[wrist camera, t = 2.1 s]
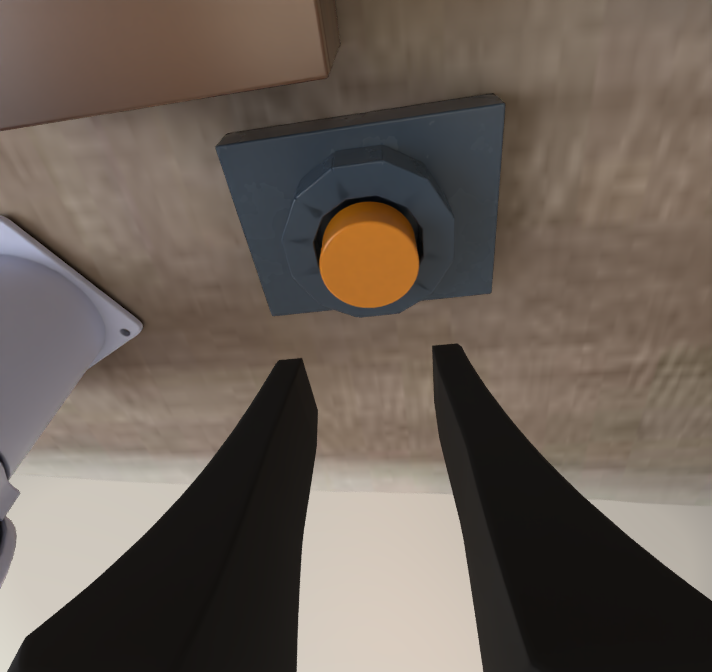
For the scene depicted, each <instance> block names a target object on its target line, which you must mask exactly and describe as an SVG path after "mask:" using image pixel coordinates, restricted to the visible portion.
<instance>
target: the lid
mask: <svg viewBox="0 0 712 672" xmlns="http://www.w3.org/2000/svg"><path fill="white" fill-rule="evenodd" d="M329 73H330V66H329V59H328V53H327V46H326V40H325V34H324V27H323V21H322V14H321V8H320V1H319V0H0V131H4V130H11V129H17V128H23V127H29V126H35V125H42V124H48V123H54V122H60V121H66V120H73V119H79V118H85V117H91V116H97V115H103V114H110V113H116V112H122V111H128V110H134V109H141V108H147V107H153V106H159V105H165V104H172V103H178V102H184V101H190V100H196V99H202V98H209V97H215V96H221V95H227V94H233V93H240V92H246V91H252V90H258V89H264V88H271V87H277V86H283V85H289V84H295V83H301V82H308V81H314V80H320V79H326V78H327V77H328V76H329Z"/></svg>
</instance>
